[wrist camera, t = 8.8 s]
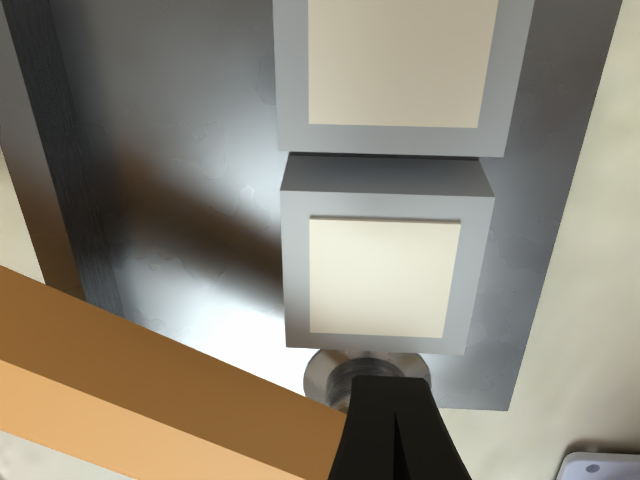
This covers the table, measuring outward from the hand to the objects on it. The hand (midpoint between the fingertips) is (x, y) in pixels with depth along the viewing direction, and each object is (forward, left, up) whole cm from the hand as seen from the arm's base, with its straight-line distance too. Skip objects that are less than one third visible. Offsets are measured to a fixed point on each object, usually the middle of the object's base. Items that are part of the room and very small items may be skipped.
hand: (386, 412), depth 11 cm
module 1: (0, -6, -6) cm, 9 cm away
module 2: (0, 0, -6) cm, 6 cm away
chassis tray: (+2, -1, -7) cm, 8 cm away
